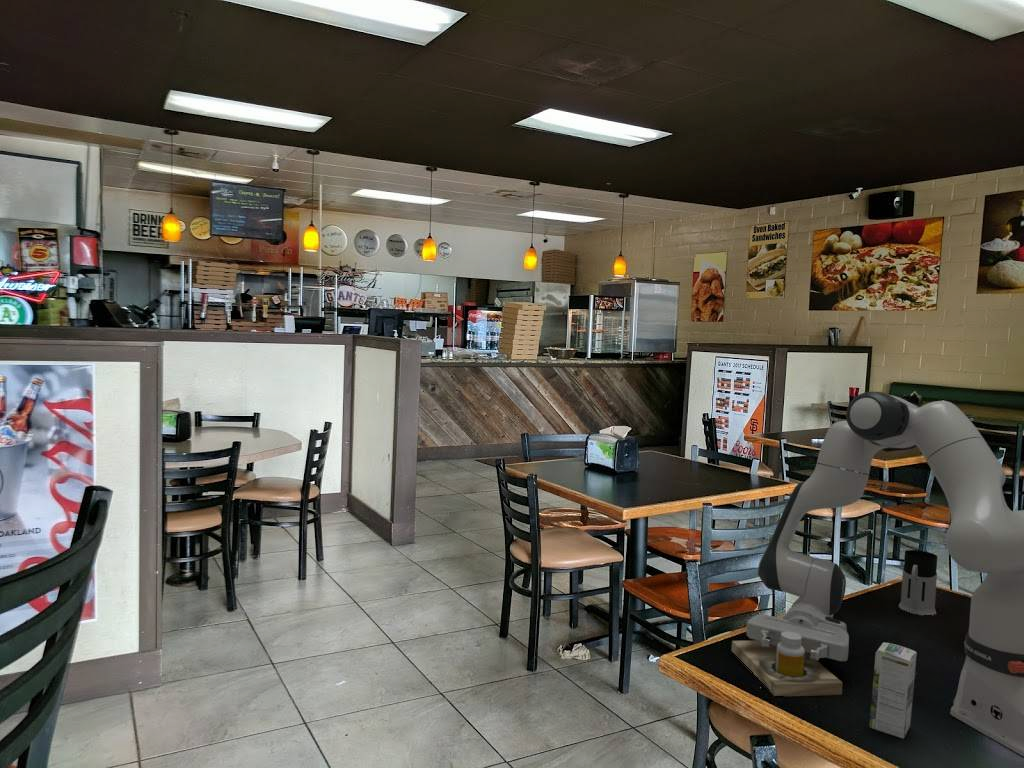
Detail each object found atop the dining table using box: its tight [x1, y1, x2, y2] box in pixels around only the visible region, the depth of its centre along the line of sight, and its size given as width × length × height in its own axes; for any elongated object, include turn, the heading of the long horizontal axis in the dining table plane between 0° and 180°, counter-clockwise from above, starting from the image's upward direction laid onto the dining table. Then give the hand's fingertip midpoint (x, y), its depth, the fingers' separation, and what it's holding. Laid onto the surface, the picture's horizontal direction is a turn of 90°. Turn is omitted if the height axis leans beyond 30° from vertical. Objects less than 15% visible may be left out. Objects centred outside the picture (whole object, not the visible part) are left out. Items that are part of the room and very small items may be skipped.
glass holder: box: [898, 549, 938, 616], centre depth 185 cm, size 9×14×15 cm, turn 141°
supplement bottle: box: [775, 631, 805, 677], centre depth 144 cm, size 5×5×10 cm
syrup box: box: [869, 642, 918, 740], centre depth 128 cm, size 6×6×14 cm
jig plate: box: [731, 639, 843, 697], centre depth 149 cm, size 20×14×2 cm
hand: (789, 649), depth 143 cm, fingers open, 8 cm apart
